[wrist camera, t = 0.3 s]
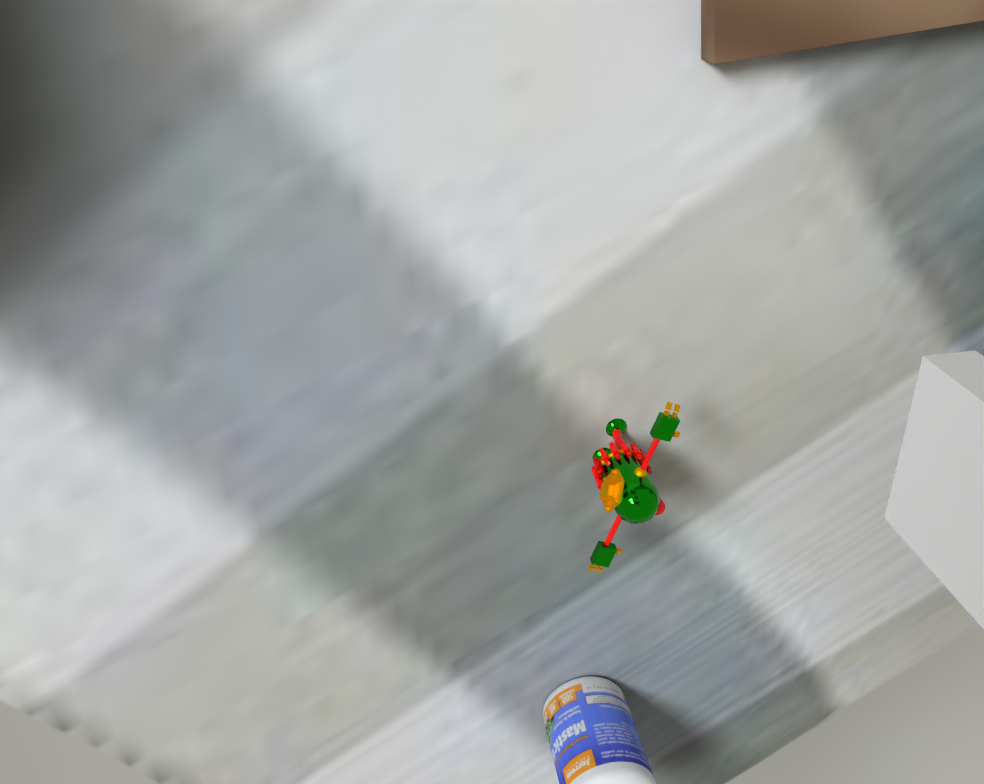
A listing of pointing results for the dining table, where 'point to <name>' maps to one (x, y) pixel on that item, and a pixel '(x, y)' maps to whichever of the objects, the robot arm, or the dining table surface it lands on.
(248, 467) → the dining table surface
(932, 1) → the board
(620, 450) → the toy character
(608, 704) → the pill bottle
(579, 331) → the dining table surface
